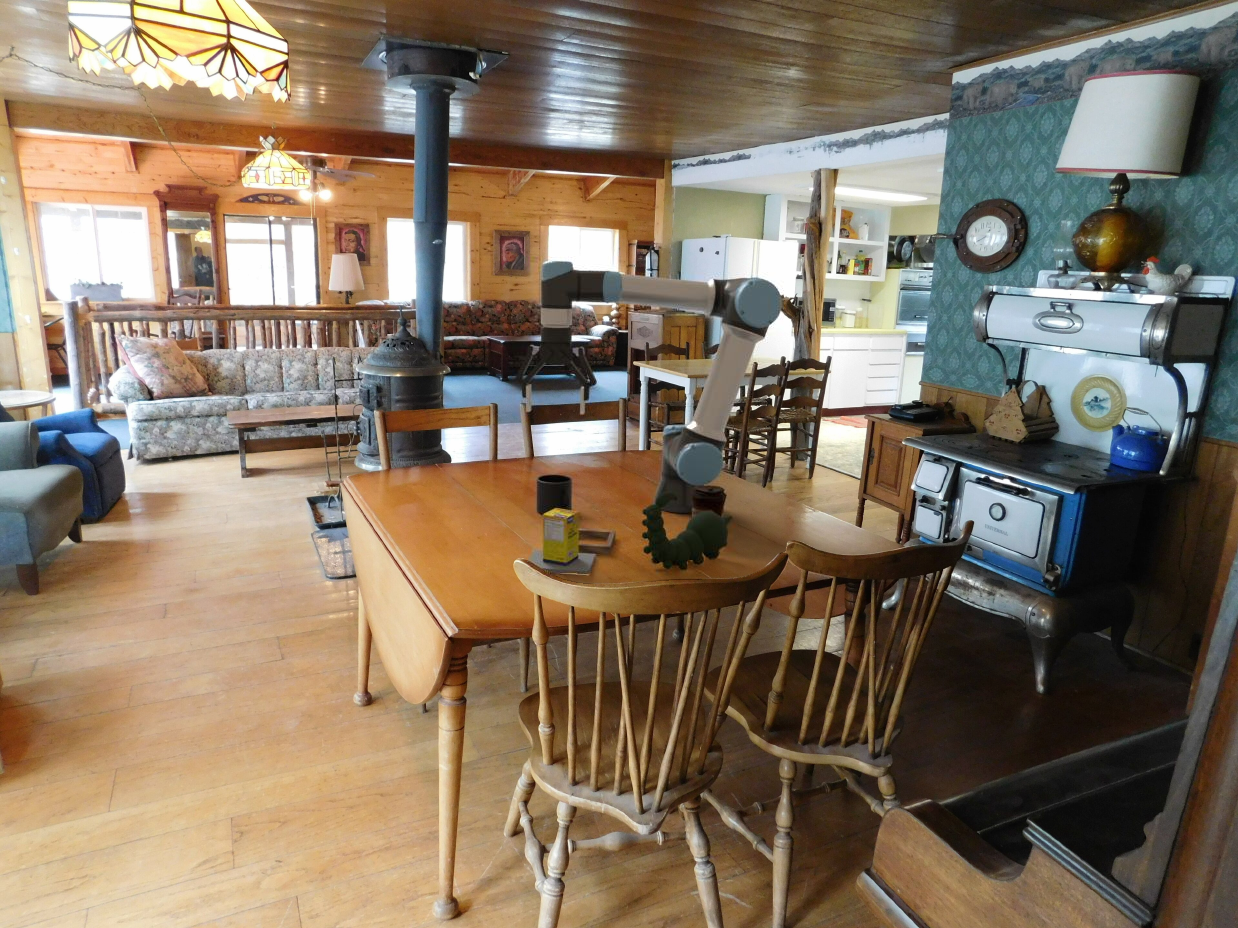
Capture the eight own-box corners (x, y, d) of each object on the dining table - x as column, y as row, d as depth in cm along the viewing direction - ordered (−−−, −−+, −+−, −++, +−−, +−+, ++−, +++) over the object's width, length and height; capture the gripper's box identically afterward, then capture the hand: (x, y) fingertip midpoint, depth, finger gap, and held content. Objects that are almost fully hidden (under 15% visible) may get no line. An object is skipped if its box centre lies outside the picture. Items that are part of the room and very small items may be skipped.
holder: (615, 538, 193) (615, 530, 192) (609, 555, 181) (610, 546, 181) (567, 535, 194) (567, 527, 193) (558, 551, 182) (558, 543, 182)
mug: (553, 520, 206) (554, 487, 203) (530, 509, 215) (530, 477, 213) (583, 515, 211) (584, 482, 209) (559, 504, 220) (559, 472, 218)
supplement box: (578, 558, 176) (579, 511, 173) (566, 566, 170) (566, 518, 168) (555, 553, 178) (555, 507, 176) (542, 561, 173) (542, 514, 170)
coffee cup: (713, 546, 189) (717, 494, 186) (682, 540, 193) (685, 488, 190) (728, 537, 196) (732, 487, 193) (698, 531, 200) (701, 481, 197)
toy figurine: (663, 587, 168) (746, 555, 182) (660, 503, 162) (746, 477, 176) (635, 573, 175) (717, 544, 189) (632, 492, 170) (717, 468, 184)
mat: (595, 558, 179) (595, 553, 179) (588, 575, 168) (588, 571, 168) (534, 554, 180) (534, 550, 180) (524, 571, 170) (524, 567, 169)
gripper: (609, 327, 195) (606, 412, 200) (509, 323, 197) (510, 407, 202) (605, 329, 188) (603, 417, 193) (502, 325, 190) (502, 412, 195)
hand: (555, 412), depth 198 cm, fingers open, 13 cm apart
